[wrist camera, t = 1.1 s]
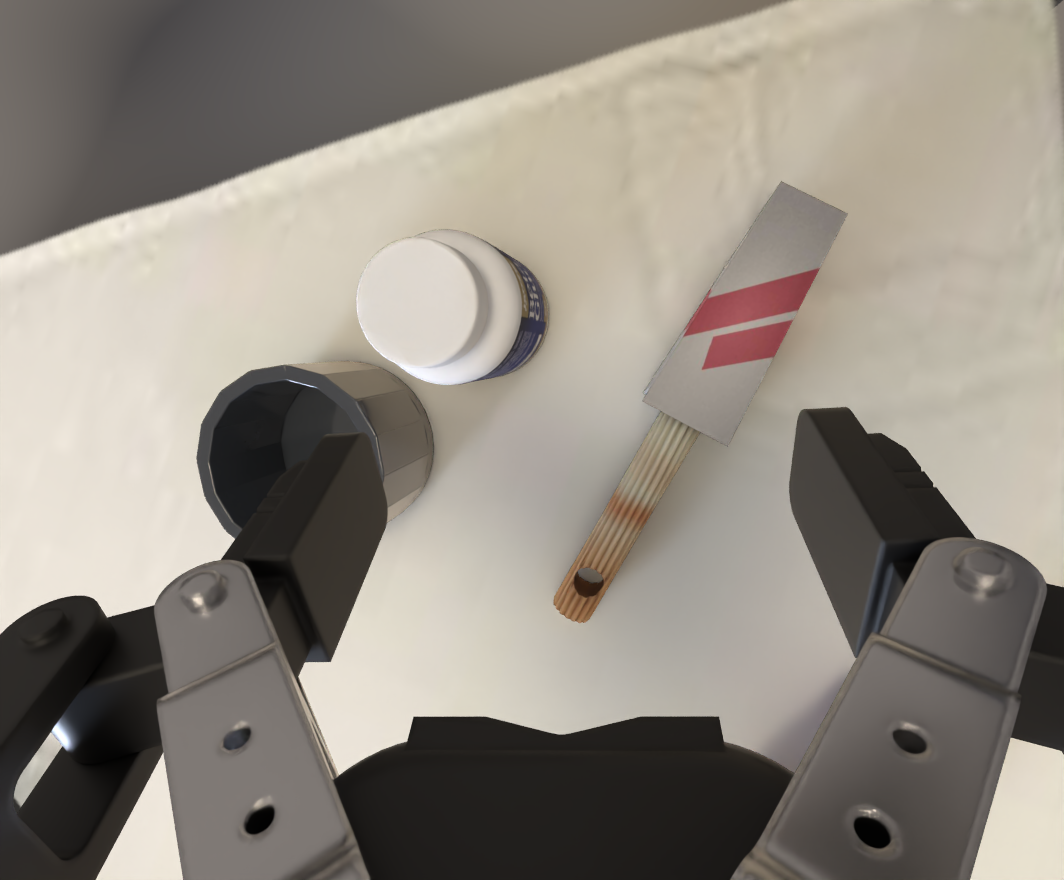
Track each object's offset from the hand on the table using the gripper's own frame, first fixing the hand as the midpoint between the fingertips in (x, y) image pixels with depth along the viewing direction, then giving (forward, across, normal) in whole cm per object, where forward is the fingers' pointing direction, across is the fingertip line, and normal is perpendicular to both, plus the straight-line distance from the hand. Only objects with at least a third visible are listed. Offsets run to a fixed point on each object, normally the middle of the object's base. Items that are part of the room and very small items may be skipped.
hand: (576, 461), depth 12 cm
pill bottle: (+18, +4, +4) cm, 18 cm away
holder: (+16, +12, +9) cm, 21 cm away
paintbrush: (+15, -4, +8) cm, 17 cm away
